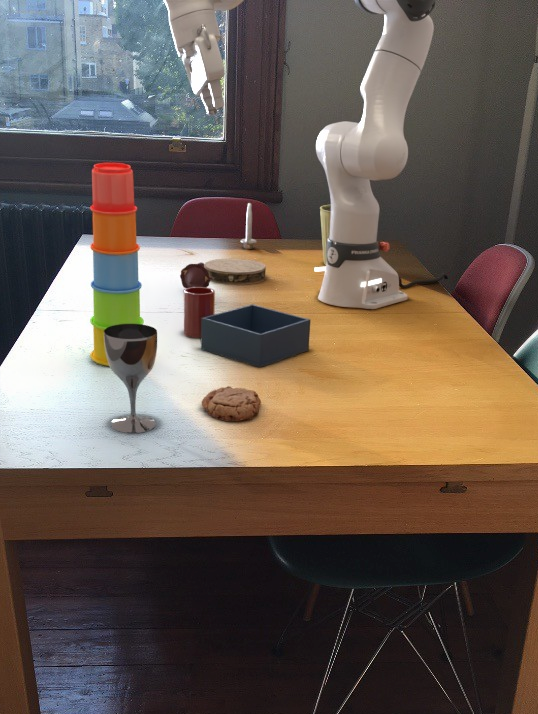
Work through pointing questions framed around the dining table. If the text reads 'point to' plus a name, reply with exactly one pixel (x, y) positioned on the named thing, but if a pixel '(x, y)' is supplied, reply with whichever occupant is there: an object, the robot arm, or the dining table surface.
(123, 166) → the stacking cups
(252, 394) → the cookie
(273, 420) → the dining table surface
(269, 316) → the tote
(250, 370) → the dining table surface
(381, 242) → the robot arm
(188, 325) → the canister
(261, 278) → the wood slice
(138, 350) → the metal goblet
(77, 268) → the dining table surface
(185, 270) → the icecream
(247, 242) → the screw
